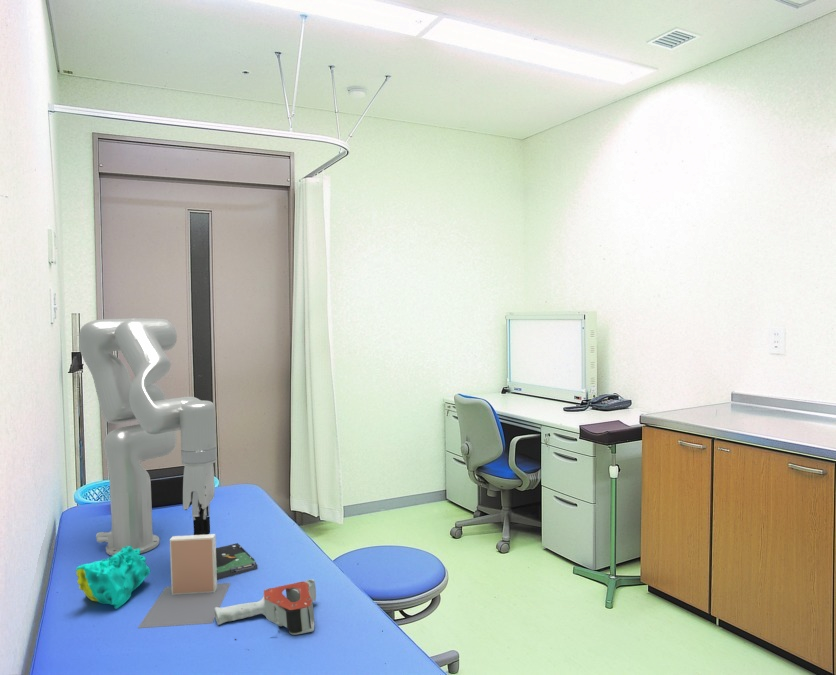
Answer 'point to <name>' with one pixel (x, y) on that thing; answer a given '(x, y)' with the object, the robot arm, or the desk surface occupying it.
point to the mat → (184, 608)
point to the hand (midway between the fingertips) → (202, 535)
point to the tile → (193, 564)
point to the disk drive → (233, 561)
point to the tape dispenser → (278, 607)
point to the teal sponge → (113, 577)
